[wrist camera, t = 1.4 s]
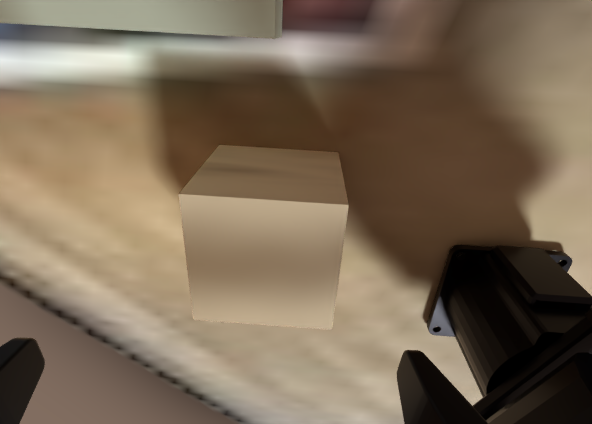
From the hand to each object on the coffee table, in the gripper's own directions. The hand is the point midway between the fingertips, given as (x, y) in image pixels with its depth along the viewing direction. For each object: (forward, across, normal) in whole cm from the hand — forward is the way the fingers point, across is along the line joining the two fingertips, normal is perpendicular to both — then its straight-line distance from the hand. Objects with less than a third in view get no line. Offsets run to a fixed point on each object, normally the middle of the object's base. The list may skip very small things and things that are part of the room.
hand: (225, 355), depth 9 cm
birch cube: (+11, -1, +1) cm, 11 cm away
